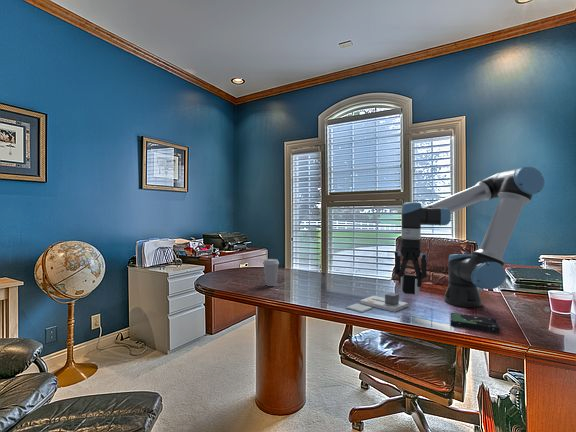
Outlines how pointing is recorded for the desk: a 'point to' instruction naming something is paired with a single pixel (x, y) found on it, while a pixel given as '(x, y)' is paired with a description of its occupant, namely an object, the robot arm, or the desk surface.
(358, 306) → the mat
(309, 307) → the desk surface
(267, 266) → the coffee cup
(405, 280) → the ink cartridge
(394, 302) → the switch tab
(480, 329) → the disk drive
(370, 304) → the switch panel
